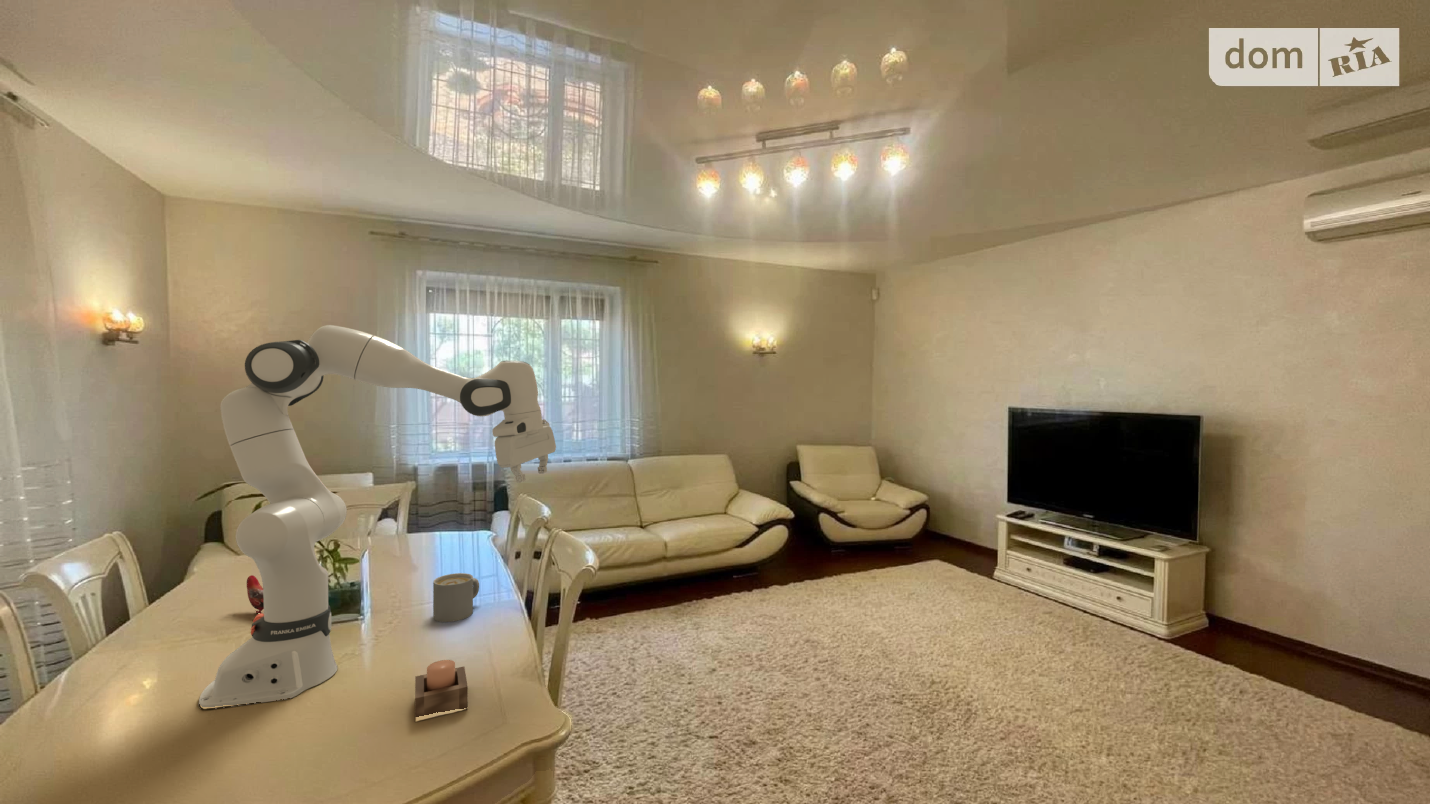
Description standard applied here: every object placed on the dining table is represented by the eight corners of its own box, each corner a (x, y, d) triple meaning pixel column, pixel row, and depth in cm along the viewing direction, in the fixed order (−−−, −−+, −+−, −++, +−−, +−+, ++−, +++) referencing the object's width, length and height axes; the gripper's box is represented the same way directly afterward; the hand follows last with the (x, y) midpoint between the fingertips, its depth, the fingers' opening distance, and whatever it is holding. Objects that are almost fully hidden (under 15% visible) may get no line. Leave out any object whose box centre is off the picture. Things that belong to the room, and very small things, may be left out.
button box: (415, 722, 103) (415, 698, 103) (415, 698, 111) (415, 676, 111) (467, 709, 107) (467, 686, 107) (464, 687, 115) (464, 666, 115)
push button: (427, 695, 106) (427, 674, 106) (426, 683, 110) (426, 663, 110) (455, 688, 108) (455, 668, 108) (454, 677, 113) (454, 657, 112)
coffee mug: (445, 625, 146) (445, 587, 146) (426, 616, 152) (426, 580, 152) (491, 609, 157) (491, 574, 157) (471, 601, 163) (471, 567, 163)
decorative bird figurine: (254, 607, 157) (254, 572, 157) (282, 621, 148) (282, 583, 148) (241, 610, 154) (241, 575, 154) (269, 624, 145) (269, 587, 145)
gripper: (537, 419, 150) (544, 469, 151) (487, 431, 130) (496, 488, 131) (557, 417, 148) (564, 467, 149) (509, 428, 129) (518, 486, 130)
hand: (532, 477), depth 140 cm, fingers open, 8 cm apart
